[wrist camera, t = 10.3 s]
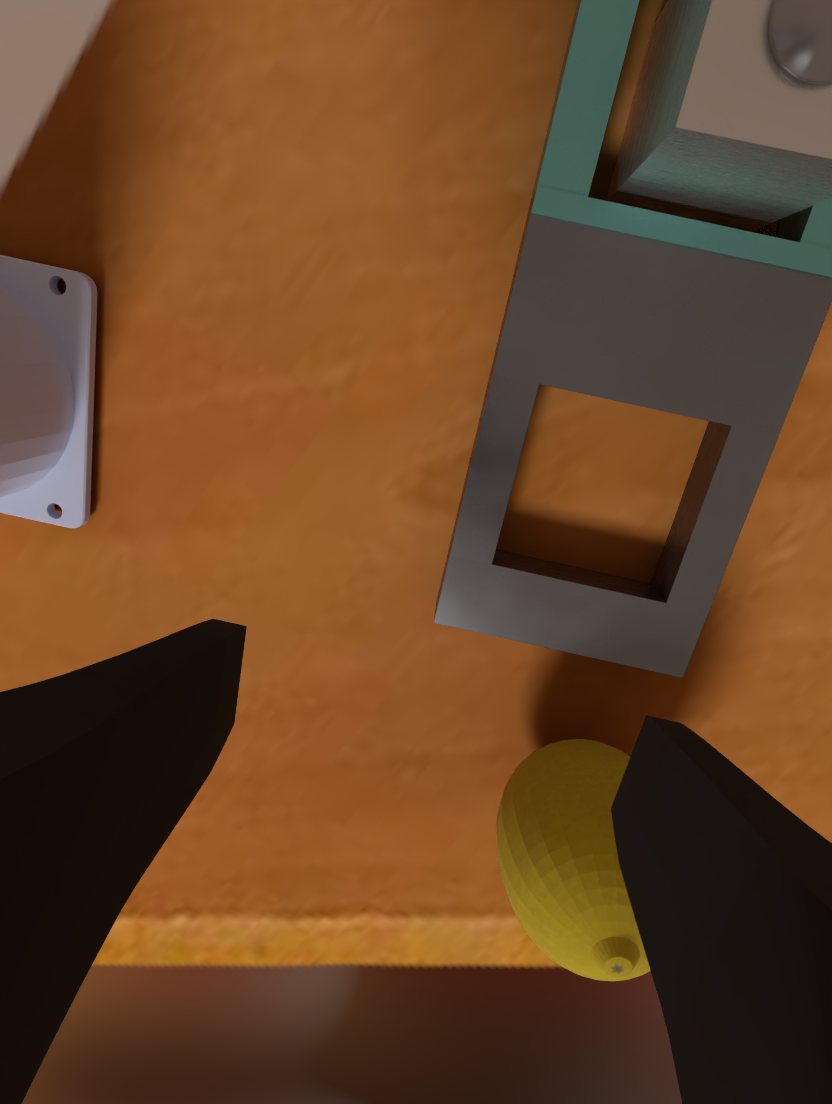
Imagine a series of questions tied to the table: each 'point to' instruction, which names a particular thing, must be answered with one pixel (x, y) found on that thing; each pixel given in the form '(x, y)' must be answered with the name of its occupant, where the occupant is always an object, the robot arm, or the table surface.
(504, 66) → the table surface
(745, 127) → the domed white cube
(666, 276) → the teal silver rectangular frame
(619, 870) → the lemon
